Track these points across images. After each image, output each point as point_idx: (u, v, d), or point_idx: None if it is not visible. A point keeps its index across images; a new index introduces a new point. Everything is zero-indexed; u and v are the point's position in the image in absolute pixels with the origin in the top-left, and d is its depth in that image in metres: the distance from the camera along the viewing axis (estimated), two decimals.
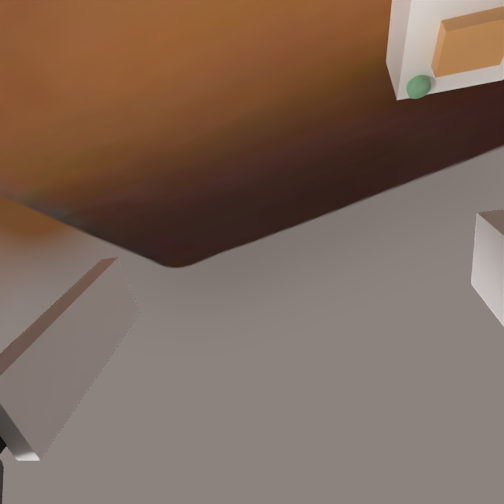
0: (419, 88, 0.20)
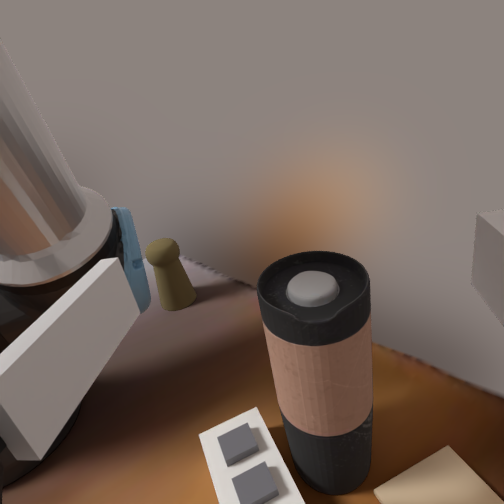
0: None
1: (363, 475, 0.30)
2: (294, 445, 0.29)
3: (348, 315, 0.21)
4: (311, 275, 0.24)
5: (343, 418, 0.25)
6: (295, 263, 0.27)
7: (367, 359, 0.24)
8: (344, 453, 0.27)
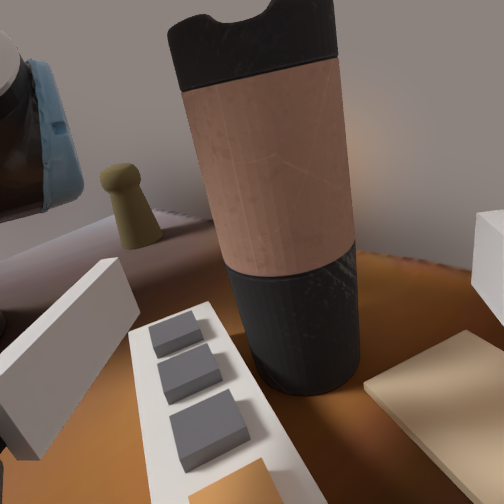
0: None
1: (348, 366, 0.21)
2: (247, 317, 0.20)
3: (294, 13, 0.13)
4: None
5: (306, 237, 0.17)
6: None
7: (337, 138, 0.16)
8: (314, 311, 0.18)
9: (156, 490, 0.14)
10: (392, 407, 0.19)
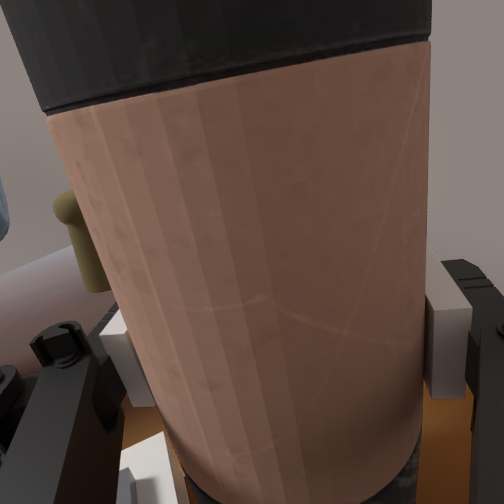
0: None
1: None
2: None
3: None
4: None
5: (336, 458, 0.07)
6: None
7: (419, 238, 0.07)
8: None
9: None
10: None
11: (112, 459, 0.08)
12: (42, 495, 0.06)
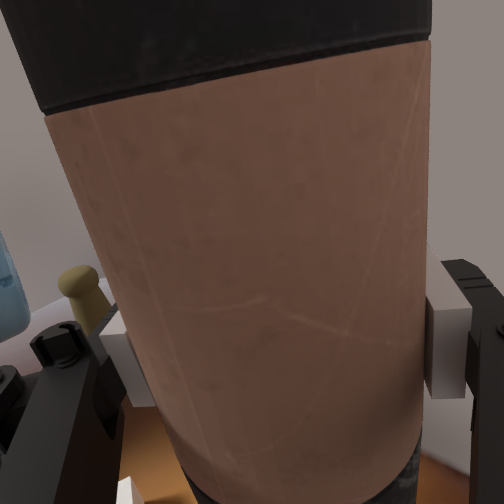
0: None
1: None
2: None
3: None
4: None
5: (337, 460, 0.07)
6: None
7: (419, 238, 0.07)
8: None
9: None
10: None
11: (112, 459, 0.08)
12: (42, 495, 0.06)
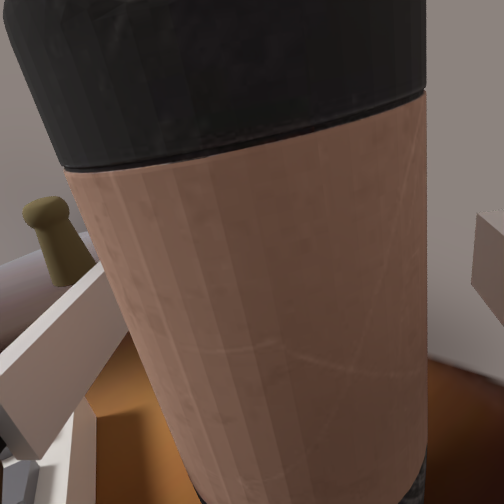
0: None
1: None
2: None
3: None
4: None
5: (345, 486, 0.07)
6: None
7: (419, 275, 0.07)
8: None
9: None
10: None
11: None
12: None
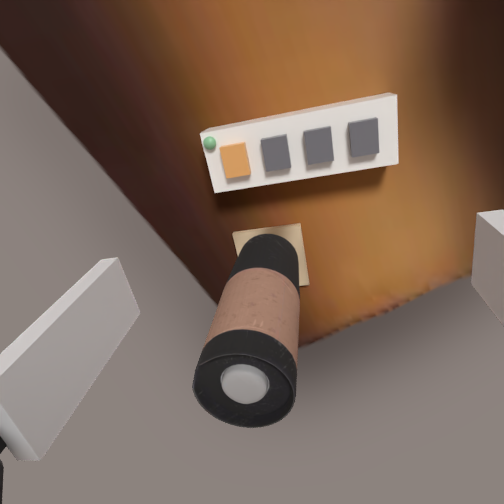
0: (209, 143, 0.34)
1: None
2: (249, 255, 0.37)
3: None
4: (253, 393, 0.25)
5: None
6: (291, 389, 0.25)
7: None
8: None
9: (258, 125, 0.33)
10: (281, 229, 0.41)
11: None
12: None
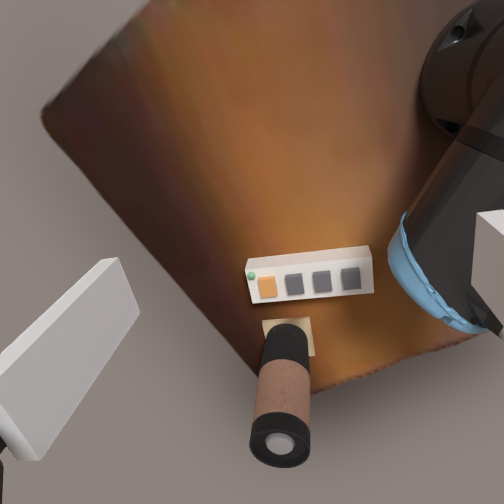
0: (251, 276, 0.52)
1: None
2: (276, 345, 0.55)
3: None
4: (285, 449, 0.44)
5: None
6: (307, 447, 0.44)
7: None
8: None
9: (283, 267, 0.51)
10: (296, 320, 0.59)
11: None
12: None
